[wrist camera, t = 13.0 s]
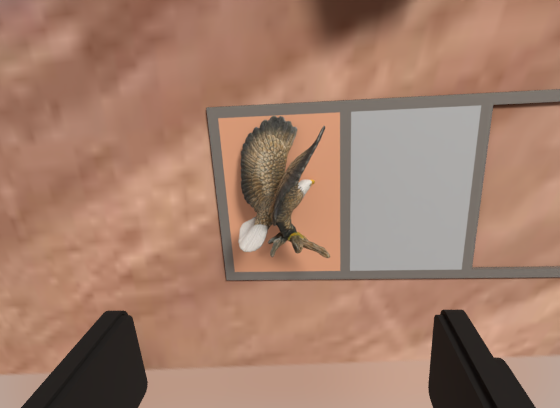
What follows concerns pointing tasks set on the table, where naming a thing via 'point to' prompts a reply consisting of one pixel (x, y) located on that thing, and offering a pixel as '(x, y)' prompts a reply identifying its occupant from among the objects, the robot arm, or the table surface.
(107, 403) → the robot arm
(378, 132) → the board
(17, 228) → the table surface
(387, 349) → the table surface
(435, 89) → the table surface
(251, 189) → the eagle figurine
